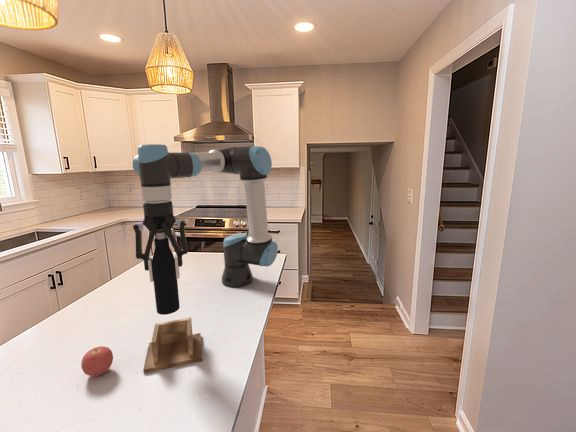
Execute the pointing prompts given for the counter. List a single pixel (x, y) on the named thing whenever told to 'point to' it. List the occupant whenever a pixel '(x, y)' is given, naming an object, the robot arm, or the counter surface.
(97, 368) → the apple
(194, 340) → the u rest
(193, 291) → the counter surface
